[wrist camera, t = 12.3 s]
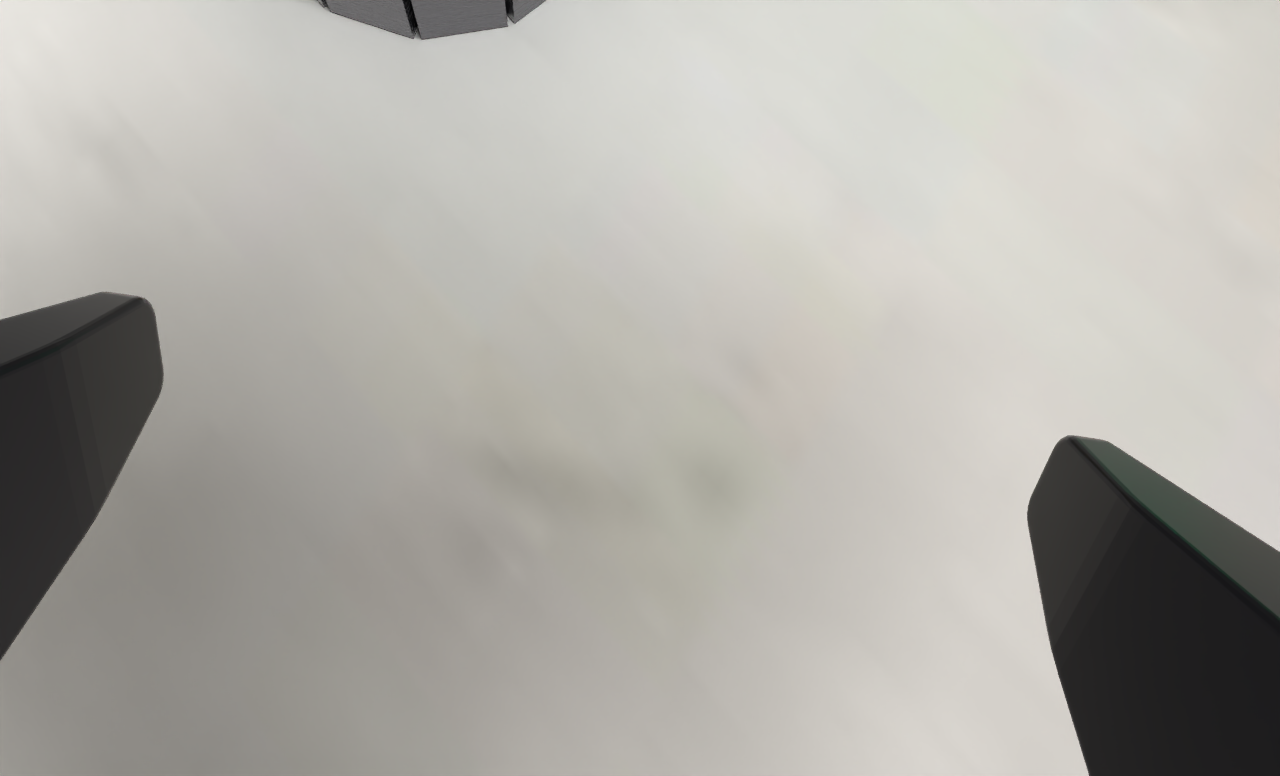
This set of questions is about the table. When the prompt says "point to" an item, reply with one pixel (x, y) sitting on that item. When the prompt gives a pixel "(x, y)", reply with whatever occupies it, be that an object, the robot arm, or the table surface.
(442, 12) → the ring
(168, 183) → the table surface
